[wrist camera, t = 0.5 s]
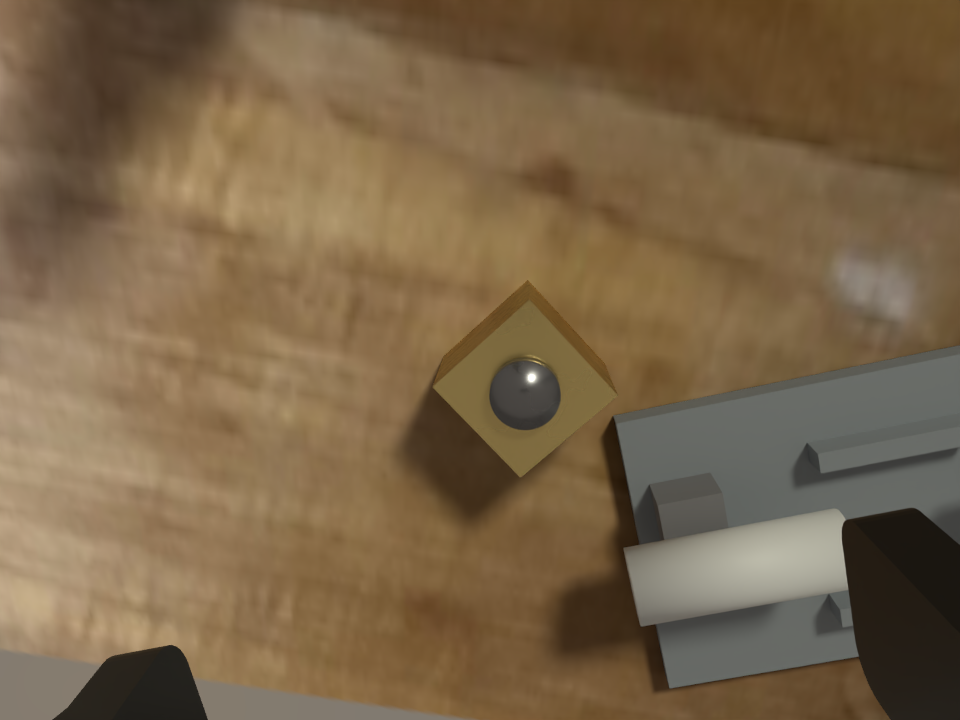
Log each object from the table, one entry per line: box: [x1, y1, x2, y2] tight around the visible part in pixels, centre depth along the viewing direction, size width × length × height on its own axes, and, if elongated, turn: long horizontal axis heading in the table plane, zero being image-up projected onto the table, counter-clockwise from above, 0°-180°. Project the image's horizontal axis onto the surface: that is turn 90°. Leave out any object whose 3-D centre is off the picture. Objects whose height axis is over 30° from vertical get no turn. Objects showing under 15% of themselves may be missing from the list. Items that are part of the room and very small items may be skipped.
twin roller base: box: [613, 345, 960, 688], centre depth 30 cm, size 22×12×6 cm, turn 103°
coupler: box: [433, 280, 618, 478], centre depth 30 cm, size 4×4×5 cm
